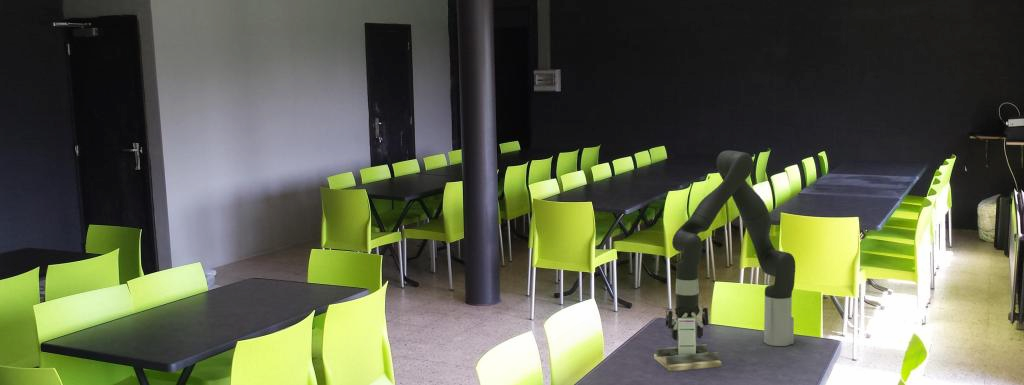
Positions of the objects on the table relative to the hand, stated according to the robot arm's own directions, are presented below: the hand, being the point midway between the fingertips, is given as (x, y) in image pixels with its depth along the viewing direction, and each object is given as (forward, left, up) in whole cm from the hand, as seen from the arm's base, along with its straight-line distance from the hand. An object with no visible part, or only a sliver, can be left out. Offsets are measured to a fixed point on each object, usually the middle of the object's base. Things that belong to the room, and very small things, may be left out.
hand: (687, 338), depth 298 cm
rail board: (0, 0, -8) cm, 8 cm away
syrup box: (0, 0, -7) cm, 7 cm away
